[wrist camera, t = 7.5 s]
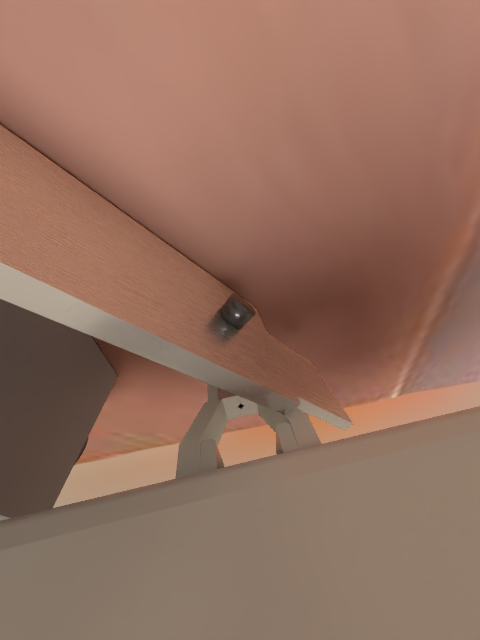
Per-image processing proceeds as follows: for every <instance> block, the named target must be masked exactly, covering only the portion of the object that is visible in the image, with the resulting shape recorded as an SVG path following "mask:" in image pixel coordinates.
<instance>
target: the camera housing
mask: <svg viewBox="0 0 480 640" xmlns="http://www.w3.org/2000/svg"><path fill="white" fill-rule="evenodd" d="M117 377H118V376H117V374H116V373H115V371H114V370H113V368H112V366H111V365H110V363H109V362H108V360H107V359H106V357H105V356H104V354H103V353H102V351H101V350H100V348H99V347H98V345H97V344H96V342H95V341H94V339H93V338H92V336H90V335H88V334H86V333H83V332H81V331H78V330H76V329H73V328H71V327H68V326H66V325H63V324H61V323H59V322H56V321H54V320H51V319H49V318H46V317H44V316H41V315H39V314H37V313H34V312H32V311H29V310H27V309H24V308H22V307H19V306H17V305H15V304H12V303H10V302H7V301H5V300H2V299H0V521H1V520H6V519H10V518H14V517H18V516H23V515H27V514H31V513H35V512H39V511H43V510H48V509H52V508H53V506H54V504H55V502H56V500H57V498H58V496H59V494H60V492H61V490H62V488H63V486H64V484H65V481H66V479H67V478H68V476H69V474H70V471H71V470H72V468H73V466H74V465H75V463H76V462H77V461H78V459H79V458H80V456H81V455H82V453H83V451H84V449H85V447H86V445H87V441H88V435H89V433H90V431H91V429H92V427H93V425H94V423H95V421H96V419H97V417H98V415H99V413H100V411H101V409H102V407H103V405H104V403H105V401H106V399H107V397H108V395H109V393H110V391H111V389H112V387H113V385H114V383H115V381H116V379H117Z"/></svg>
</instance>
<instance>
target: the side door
mask: <svg viewBox="0 0 480 640" xmlns="http://www.w3.org/2000/svg"><path fill="white" fill-rule="evenodd" d="M0 299H2V300H5V301H7V302H10V303H12V304H15V305H17V306H19V307H22V308H24V309H27V310H29V311H32V312H34V313H37V314H39V315H41V316H44V317H46V318H49V319H51V320H54V321H56V322H59V323H61V324H63V325H66V326H68V327H71V328H73V329H76V330H78V331H81V332H83V333H86V334H88V335H90V336H93V337H95V338H98V339H100V340H103V341H105V342H108V343H110V344H112V345H115V346H117V347H120V348H122V349H125V350H127V351H130V352H132V353H134V354H137V355H139V356H142V357H144V358H147V359H149V360H152V361H154V362H157V363H159V364H161V365H164V366H166V367H169V368H171V369H174V370H176V371H179V372H181V373H183V374H186V375H188V376H191V377H193V378H196V379H198V380H201V381H203V382H205V383H208V384H210V385H213V386H215V387H218V388H220V389H223V390H225V391H228V392H230V393H232V394H235V395H237V396H240V397H242V398H245V399H247V400H250V401H252V402H254V403H257V404H259V405H262V406H264V407H267V408H269V409H272V410H274V411H276V412H279V413H281V414H284V415H287V414H288V413H290V412H291V411H292V410H294V409H295V408H296V407H297V408H298V409H299V410H301V411H303V412H305V413H307V414H309V415H312V416H314V417H316V418H319V419H321V420H323V421H325V422H327V423H329V424H332V425H334V426H336V427H338V428H341V429H343V430H346V429H347V428H349V427H350V426H352V425H353V423H352V421H351V420H350V418H349V417H348V415H347V413H346V412H345V411H344V409H343V407H342V406H341V404H340V403H339V401H338V400H337V398H336V397H335V395H334V394H333V392H332V391H331V389H330V388H329V386H328V385H327V383H326V382H325V380H324V379H323V377H322V376H321V374H320V372H319V371H318V369H317V368H316V366H315V365H314V363H312V362H311V361H309V360H308V359H306V358H305V357H303V356H302V355H300V354H299V353H297V352H296V351H294V350H293V349H291V348H290V347H288V346H286V345H285V344H283V343H282V342H280V341H279V340H277V339H276V338H274V337H273V336H271V335H270V334H268V333H267V331H266V329H265V327H264V324H263V322H262V320H261V318H260V316H259V314H258V312H257V309H256V307H255V306H253V305H252V304H250V303H249V302H248V301H246V300H245V299H244V298H242V297H241V296H239V295H238V294H236V293H235V292H234V291H232V290H231V289H229V288H228V287H227V286H225V285H224V284H222V283H221V282H220V281H218V280H217V279H215V278H214V277H213V276H211V275H210V274H208V273H207V272H206V271H204V270H203V269H201V268H200V267H199V266H197V265H196V264H195V263H193V262H192V261H190V260H189V259H188V258H186V257H185V256H183V255H182V254H181V253H179V252H178V251H176V250H175V249H174V248H172V247H171V246H169V245H168V244H167V243H165V242H164V241H162V240H161V239H160V238H158V237H157V236H155V235H154V234H153V233H151V232H150V231H148V230H147V229H146V228H144V227H143V226H141V225H140V224H139V223H137V222H136V221H134V220H133V219H132V218H130V217H129V216H127V215H126V214H125V213H123V212H122V211H120V210H119V209H118V208H116V207H115V206H113V205H112V204H111V203H109V202H108V201H106V200H105V199H104V198H102V197H101V196H99V195H98V194H97V193H95V192H94V191H92V190H91V189H90V188H88V187H87V186H86V185H84V184H83V183H81V182H80V181H79V180H77V179H76V178H74V177H73V176H72V175H70V174H69V173H67V172H66V171H65V170H63V169H62V168H60V167H59V166H58V165H56V164H55V163H53V162H52V161H51V160H49V159H48V158H46V157H45V156H44V155H42V154H41V153H39V152H38V151H37V150H35V149H34V148H32V147H31V146H30V145H28V144H27V143H25V142H24V141H23V140H21V139H20V138H18V137H17V136H16V135H14V134H13V133H11V132H10V131H9V130H7V129H6V128H4V127H3V126H2V125H0Z"/></svg>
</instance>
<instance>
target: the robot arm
mask: <svg viewBox="0 0 480 640" xmlns="http://www.w3.org/2000/svg"><path fill="white" fill-rule="evenodd" d="M240 403H241V404H240ZM241 409H242V410H241ZM257 413H258V414H259V415H260V416H261V417H262V418H263V419H264V421H265V422H266V423H267V424H268V425H269V426H270V427H271V428H272V429H273V430H274V431H275V432H276V453H277V455H274V456H270V457H265V458H261V459H257V460H253V461H249V462H245V463H240V464H236V465H232V466H228V467H224V463H223V461H222V458H221V455H220V453H219V450H218V447H217V446H218V443H219V441H220V439H221V436H222V434H223V431H224V429H225V426H226V424H227V420H230V419H234V418H238V417H242V414H243V416H247V415H252V414H257ZM0 640H480V406H479V407H475V408H471V409H467V410H462V411H459V412H454V413H450V414H445V415H442V416H437V417H433V418H429V419H425V420H421V421H416V422H412V423H408V424H404V425H399V426H395V427H391V428H387V429H383V430H379V431H374V432H371V433H366V434H362V435H358V436H354V437H350V438H346V439H341V440H337V441H333V442H328V443H324V444H321V442H320V440H319V438H318V436H317V433H316V431H315V430H314V427H313V426H312V423H311V421H310V419H309V417H308V416H307V415H306V414H304V413H303V412H302V411H301V410H299V409H298V408H297V407H296V408H295V409H294V410H292V411H291V412H290V413H288V414H287V415H284V414H281V413H279V412H276V411H274V410H272V409H269V408H267V407H264V406H262V405H259V404H257V403H254V402H252V401H250V400H247V399H245V398H242V397H240V396H237V395H235V394H232V393H230V392H228V391H225V390H223V389H220V388H218V387H215V386H213V385H210V384H208V402H207V403H205V404H204V406H203V407H202V409H201V410H200V412H199V414H198V415H197V417H196V419H195V420H194V422H193V424H192V425H191V427H190V428H189V430H188V432H187V433H186V435H185V437H184V438H183V440H182V441H181V443H180V445H179V452H178V462H177V471H176V479H173V480H169V481H165V482H161V483H157V484H152V485H148V486H145V487H140V488H136V489H132V490H127V491H123V492H119V493H115V494H111V495H106V496H102V497H98V498H94V499H89V500H85V501H81V502H77V503H73V504H69V505H64V506H61V507H56V508H52V509H48V510H43V511H39V512H35V513H31V514H27V515H23V516H18V517H14V518H10V519H6V520H1V521H0Z"/></svg>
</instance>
